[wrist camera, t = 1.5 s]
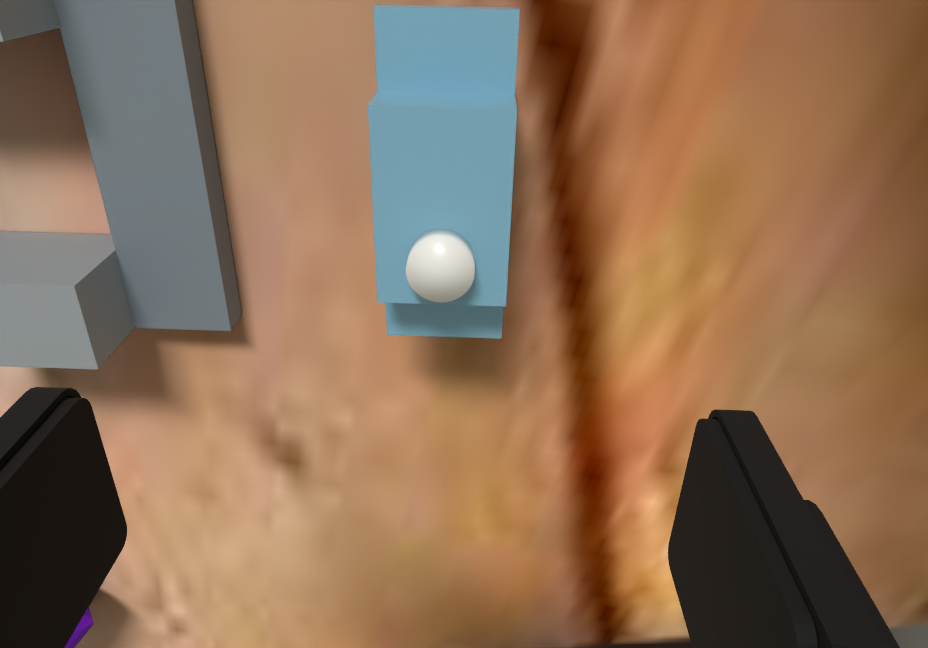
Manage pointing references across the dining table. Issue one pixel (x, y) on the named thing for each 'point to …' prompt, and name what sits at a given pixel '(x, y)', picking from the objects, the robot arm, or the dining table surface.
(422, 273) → the block
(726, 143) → the dining table surface
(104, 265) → the block
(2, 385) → the dining table surface
